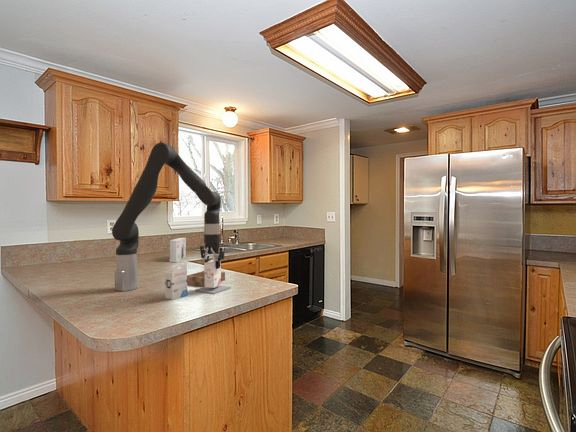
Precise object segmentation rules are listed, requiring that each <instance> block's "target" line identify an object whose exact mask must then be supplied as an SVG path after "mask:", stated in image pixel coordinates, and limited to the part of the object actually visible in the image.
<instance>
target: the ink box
mask: <svg viewBox="0 0 576 432" xmlns="http://www.w3.org/2000/svg"><path fill="white" fill-rule="evenodd" d="M179 267H180V268H179ZM187 268H188V267H187V263H186V262H185V263H179V264H175V265H172V266H171V270H169V271H164V293H165V295H164V297H165V299H167V300H171V301H174V300H177V299H180V298H183V297H186V296H188V295H189V294H188V293H189V292H188V284H187V275H188V269H187Z"/></svg>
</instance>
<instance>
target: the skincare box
mask: <svg viewBox="0 0 576 432" xmlns="http://www.w3.org/2000/svg"><path fill="white" fill-rule="evenodd" d="M186 248H187V238H186V237H179V238H178V237H177V238H175V239H170V240H169V263H179V262H180V261H182V260H184V259H186V258H187V255H186V254H187V253H186V252H187V251H186V250H187V249H186Z"/></svg>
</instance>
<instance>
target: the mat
mask: <svg viewBox="0 0 576 432" xmlns="http://www.w3.org/2000/svg"><path fill="white" fill-rule="evenodd" d="M230 289H232V287H231V286H227V285H226V286H225V285H221V284H219V285H218V286H216V287H215V288H206V287H202V286H201V287H199V288H196V289H194V291H195V292H199V293H205V294H212V295H216V294H219V293H221V292H225V291H227V290H230Z"/></svg>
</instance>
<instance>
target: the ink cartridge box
mask: <svg viewBox="0 0 576 432" xmlns="http://www.w3.org/2000/svg"><path fill="white" fill-rule="evenodd" d="M221 261H222V260H221ZM221 261H220V268H219V269H216V259H215V257H214V256H213V255H212V259H211V260H210V261H208V262H206V263H205V262H204V263H203V268H204V270H203V271H204V274H205V287H206V288H215V287H216V286H218V285H221V284H222V281H221V272H222V267H221V265H222V264H221Z"/></svg>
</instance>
